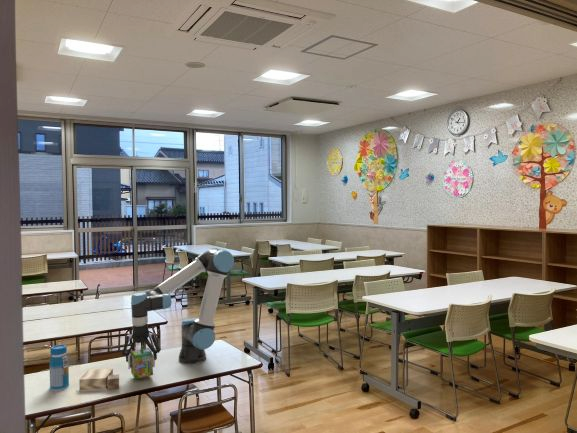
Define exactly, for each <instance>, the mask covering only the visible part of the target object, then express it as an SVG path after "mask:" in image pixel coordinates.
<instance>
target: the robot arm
mask: <svg viewBox="0 0 577 433" xmlns="http://www.w3.org/2000/svg"><path fill="white" fill-rule="evenodd" d="M234 258H235V257H234V255H233V254H232V253H231V252H230V251H229V250H226V249H223V248H217V247H213V248H212V247H211V248H209V249H208V250H205V251H204V252H203V253H201V254H199V255H198V256H197V257H195V258H194V261H192V262H191V263H189V264H187V266H185V267H183V268H182V269H180V270H179V271H177V272H176V273H174V274H173V275H172V276H170V277H168V278H167V279H166V280H164V281H163V282H161V283H160V284H158V285H157V286H155V287H154V288H152V289H147V290H146V291H144V292H136V293H133V294H132V295H131V298H130V300H131V301H130V302H131V303H130V304H131V306H130V307H131V324H132V326H131V327H132V329H131V330H132V334H127V335H126V336H125V342H124V346H123V349H122V352H121V355H122V356H125V361H126V363H127V364H128V368H127V369H128V370H131V351H133V348H134V346H135V345H136V344H145V345H146V346H147V348H149V350H150V351H151V352H152V362H153V368H155V366H156V361H157V359H158V354H159V353H160V352H161V348H160V345H159V343H158V341H157V338H156V333H155V332H152V333H149V324H148V323H149V318H148V314H149V313H148V312H152V311H159V310H166V309H170V308H171V306H172V297H171V294H172V293H174V292H175V291H177V290H178V289H179V288H181V287H182V286H184V285H185V284H187V283H188V282H190V281H191V280H192V279H193V278H195V277H196V276H198V275H200V274H201V273H206V272H207V275H208V276H207V280H206V283H205V289H204V292H203V296H202V300H201V304H200V308H199V311H198V316H197V317H193V318H192V317H191V318H185V319H182V320H181V326H180V327H181V328H180V329H181V348H180V351H179V355H178V361H179V362H180V363H182V364H189V365H190V364H198V363H197V362H199V363H201V361H202V362H204V361H206V359H207V353H206V349H209V348H211V347H212V346H213V344H214V343H215V341H216V334H215V333H216V332H215V327H216V323H215V322H214V320H215V315H216V312H217V307H218V304H219V299H220V296H221V291H222V287H223V284H224V280H225V278H226V277H228V275H229V271H231V270H232V269H233V267H234V265H235V259H234ZM149 337H150V339H151V341H152V343H153V344H152V343H151V341H150V340H149ZM131 339H132V340H133V342H132V344H131V345H130V347H129V348H128V346H129V343H130V340H131ZM127 349H128V350H127ZM203 360H204V361H203Z"/></svg>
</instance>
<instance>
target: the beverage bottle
mask: <svg viewBox="0 0 577 433" xmlns="http://www.w3.org/2000/svg"><path fill="white" fill-rule="evenodd" d="M67 348H68V347H67V345H65V344H57V345H54V346H52V347H50V355H51V357H50V359H49V362H48V363H49V367H48V370H49V390H52V391H62V390H64V389H67V388H68V387H69V386H70V379H69V377H70V376H69V375H70V374H69V373H70V372H69V368H70V364H69V357H68V355H67V350H68V349H67Z"/></svg>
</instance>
